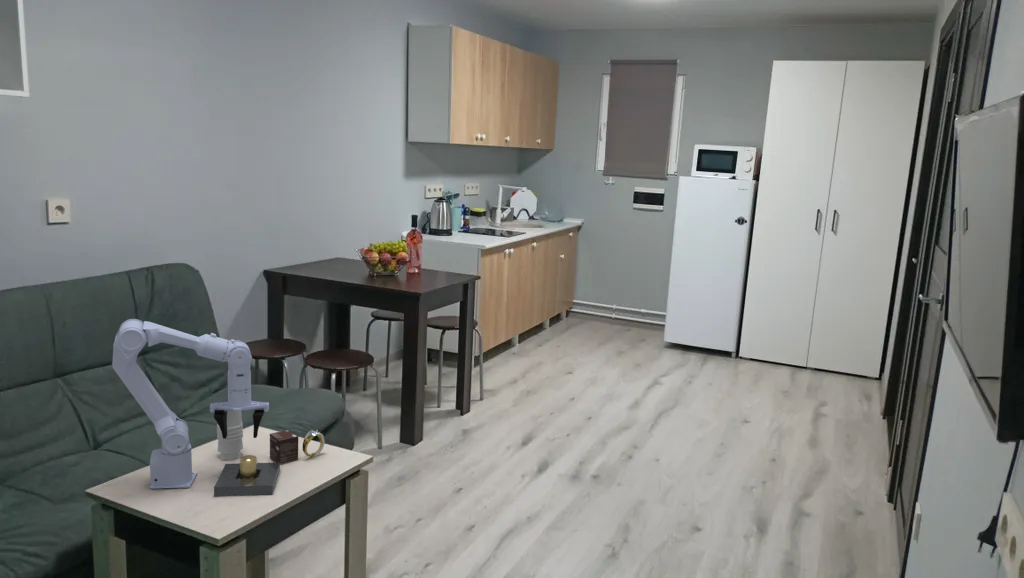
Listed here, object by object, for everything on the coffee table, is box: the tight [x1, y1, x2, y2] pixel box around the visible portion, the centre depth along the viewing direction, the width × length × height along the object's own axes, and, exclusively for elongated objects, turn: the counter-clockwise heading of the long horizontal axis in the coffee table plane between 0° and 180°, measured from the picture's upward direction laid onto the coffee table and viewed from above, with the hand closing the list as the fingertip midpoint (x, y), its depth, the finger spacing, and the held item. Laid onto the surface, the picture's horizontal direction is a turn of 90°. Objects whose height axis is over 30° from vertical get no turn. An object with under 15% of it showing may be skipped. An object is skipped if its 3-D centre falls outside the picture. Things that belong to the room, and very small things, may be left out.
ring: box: [302, 429, 325, 458], centre depth 205 cm, size 7×3×8 cm, turn 140°
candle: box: [216, 411, 244, 461], centre depth 202 cm, size 7×7×15 cm
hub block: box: [213, 461, 281, 497], centre depth 187 cm, size 14×14×2 cm
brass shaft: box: [239, 454, 258, 479], centre depth 186 cm, size 4×4×7 cm
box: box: [269, 429, 300, 465], centre depth 202 cm, size 6×6×7 cm
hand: (240, 436), depth 191 cm, fingers open, 7 cm apart
